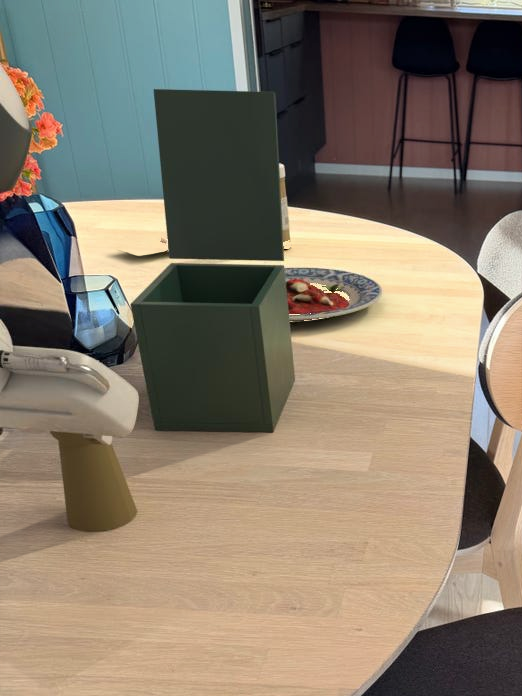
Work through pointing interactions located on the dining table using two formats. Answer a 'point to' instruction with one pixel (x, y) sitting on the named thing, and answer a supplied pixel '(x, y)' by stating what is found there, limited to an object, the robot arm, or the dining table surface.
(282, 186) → the sprinkles bottle
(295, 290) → the ceramic plate
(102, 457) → the olive pawn
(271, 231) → the lid
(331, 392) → the dining table surface
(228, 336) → the box
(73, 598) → the dining table surface
